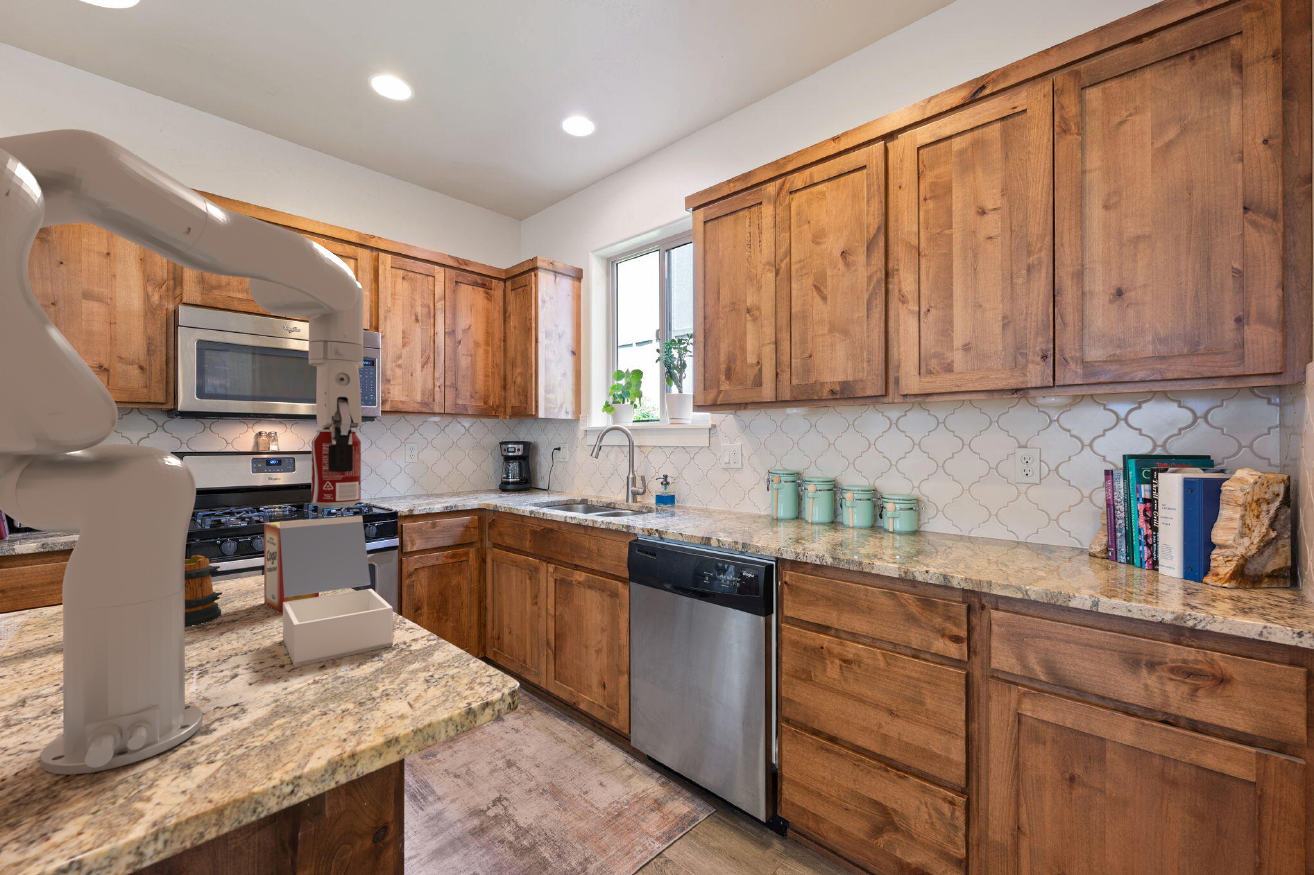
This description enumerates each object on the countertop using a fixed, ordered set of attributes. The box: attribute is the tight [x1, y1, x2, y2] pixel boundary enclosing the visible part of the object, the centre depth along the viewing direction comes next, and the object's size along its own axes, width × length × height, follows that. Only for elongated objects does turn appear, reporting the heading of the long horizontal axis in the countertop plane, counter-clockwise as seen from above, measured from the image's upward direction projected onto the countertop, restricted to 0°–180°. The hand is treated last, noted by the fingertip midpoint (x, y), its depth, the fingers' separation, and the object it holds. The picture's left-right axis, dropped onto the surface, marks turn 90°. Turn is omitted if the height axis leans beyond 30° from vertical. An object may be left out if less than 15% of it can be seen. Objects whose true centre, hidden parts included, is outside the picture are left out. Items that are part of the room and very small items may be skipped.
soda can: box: [310, 429, 362, 509], centre depth 90 cm, size 7×7×12 cm
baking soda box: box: [263, 519, 320, 614], centre depth 111 cm, size 10×6×16 cm
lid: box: [279, 515, 372, 598], centre depth 98 cm, size 13×13×1 cm
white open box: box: [282, 588, 394, 668], centre depth 90 cm, size 14×13×6 cm
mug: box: [184, 554, 223, 628], centre depth 100 cm, size 13×10×12 cm
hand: (336, 469), depth 90 cm, fingers closed on soda can, 6 cm apart
